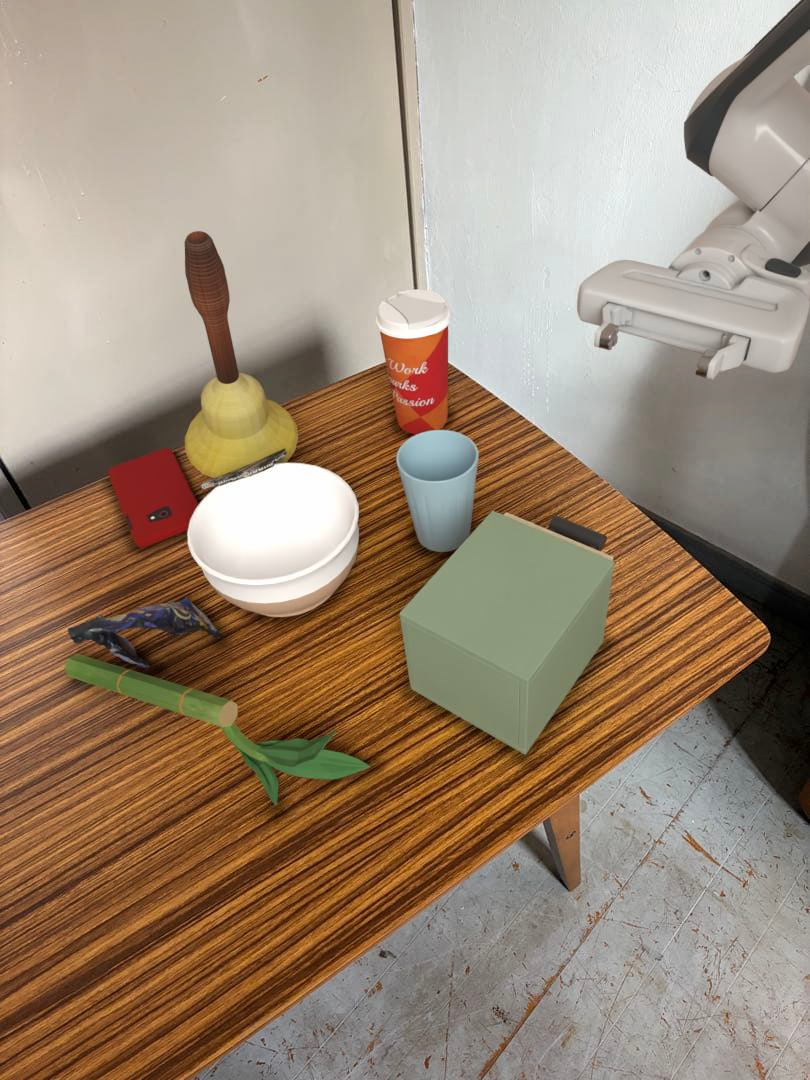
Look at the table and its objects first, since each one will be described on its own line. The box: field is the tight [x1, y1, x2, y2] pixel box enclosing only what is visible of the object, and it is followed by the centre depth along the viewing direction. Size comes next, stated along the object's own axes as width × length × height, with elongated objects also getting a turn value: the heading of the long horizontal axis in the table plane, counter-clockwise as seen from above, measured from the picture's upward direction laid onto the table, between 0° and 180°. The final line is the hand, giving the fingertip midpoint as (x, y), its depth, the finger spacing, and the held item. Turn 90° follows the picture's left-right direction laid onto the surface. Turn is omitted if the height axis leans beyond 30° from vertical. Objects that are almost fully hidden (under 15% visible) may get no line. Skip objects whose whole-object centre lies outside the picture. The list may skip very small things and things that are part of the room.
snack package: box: [67, 596, 223, 671], centre depth 71 cm, size 12×6×12 cm
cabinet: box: [399, 510, 616, 755], centre depth 66 cm, size 13×11×10 cm
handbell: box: [184, 230, 299, 479], centre depth 76 cm, size 12×12×25 cm
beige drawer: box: [503, 511, 614, 561], centre depth 68 cm, size 17×10×9 cm, turn 143°
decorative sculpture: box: [199, 448, 287, 490], centre depth 83 cm, size 20×1×10 cm
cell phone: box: [107, 447, 200, 548], centre depth 89 cm, size 8×15×1 cm, turn 27°
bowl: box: [186, 462, 360, 618], centre depth 76 cm, size 16×16×8 cm
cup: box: [395, 429, 480, 553], centre depth 78 cm, size 8×8×10 cm
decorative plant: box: [63, 653, 371, 807], centre depth 66 cm, size 6×8×30 cm
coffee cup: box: [374, 289, 452, 435], centre depth 90 cm, size 8×8×15 cm
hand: (651, 355), depth 69 cm, fingers open, 8 cm apart
